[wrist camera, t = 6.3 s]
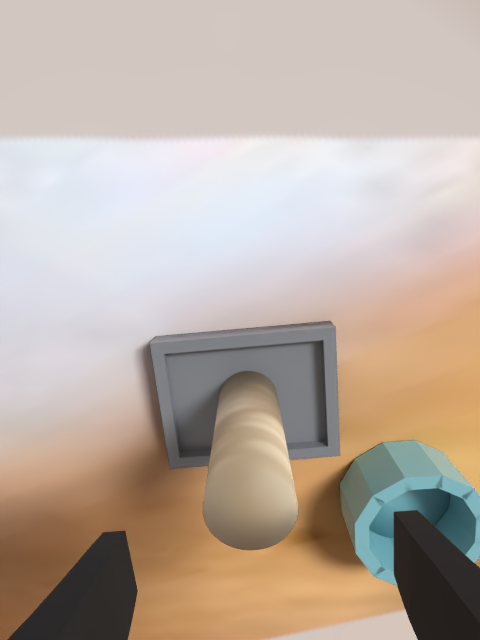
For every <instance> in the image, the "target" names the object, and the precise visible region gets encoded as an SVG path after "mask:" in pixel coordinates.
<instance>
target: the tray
mask: <svg viewBox="0 0 480 640" xmlns="http://www.w3.org/2000/svg"><path fill="white" fill-rule="evenodd" d="M150 349H151V355H152V361H153V367H154V373H155V380H156V386H157V392H158V398H159V404H160V411H161V417H162V423H163V429H164V435H165V442H166V448H167V454H168V460H169V466H170V469H174V468H187V467H200V466H209V462H210V455H211V448H212V442H213V435H214V428H215V422H216V415H217V408H218V402H219V395H220V390H221V387H222V385H223V384H224V382H225V381H226V380H227V379H228V378H229V377H230V376H232V375H234V374H236V373H238V372H242V371H255V372H258V373H261V374H263V375H265V376H266V377H267V378H269V379H270V380H271V382H272V383H273V384H274V386H275V389H276V392H277V397H278V403H279V408H280V413H281V418H282V424H283V429H284V434H285V440H286V445H287V450H288V455H289V460H293V459H306V458H319V457H332V456H340V437H339V409H338V380H337V352H336V327H335V326H334V325H333V324H332V322H331V321H324V322H313V323H301V324H290V325H279V326H267V327H256V328H245V329H234V330H222V331H211V332H200V333H188V334H177V335H166V336H155V338H154V339H153V340H152V341H151V342H150Z"/></svg>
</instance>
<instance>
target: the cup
mask: <svg viewBox="0 0 480 640" xmlns="http://www.w3.org/2000/svg"><path fill="white" fill-rule="evenodd" d="M340 499H341V511H342V514H343V517H344V520H345V523H346V526H347V529H348V532H349V535H350V538H351V541H352V544H353V547H354V550H355V553H356V554H357V556H358V557H359V558H360V560H361V561H362V562H363V563H364V565H365V566H366V567H367V569H368V570H369V571H370V572H371V574H372V575H373V576H374V577H376V578H379V579H381V580H384V581H386V582H389V583H392V584H394V585H397V583H396V580H395V577H394V512H396V511H410V510H418V511H419V512H420V513H421V514H422V515H423V516H424V517H425V518H427V519H428V520H429V521H430V522H431V523H432V524H433V525H434V526H435V527H436V528H437V529H438V530H439V531H440V532H441V533H442V534H443V535H444V536H446V537H447V538H448V539H449V540H450V541H451V542H452V543H453V544H454V545H455V546H456V547H457V548H458V549H459V550H461V551H462V552H463V553H464V554H465V555H466V556H467V557H468V558H469V559H470V560H471V561H473V562H474V563H475V562H476V561H477V560H478V558H479V557H480V496H479V495H478V493H477V492H476V490H475V489H474V488H473V486H472V485H471V484H470V483H469V482H468V481H467V479H466V478H465V477H464V476H463V475H462V474H461V473H460V471H459V470H458V469H457V468H456V467H455V466H454V465H453V463H452V462H451V461H450V460H449V459H448V458H447V457H446V455H445V454H444V453H443V452H441V451H439V450H437V449H434V448H432V447H430V446H427V445H425V444H423V443H421V442H418V441H416V440H409V441H396V442H383V443H381V444H379V445H378V446H376V447H374V448H372V449H371V450H369V451H367V452H366V453H364V454H362V455H360V456H359V457H357V458H355V459H354V461H353V463H352V464H351V466H350V468H349V469H348V471H347V473H346V474H345V476H344V478H343V479H342V481H341V483H340Z"/></svg>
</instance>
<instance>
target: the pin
mask: <svg viewBox="0 0 480 640" xmlns="http://www.w3.org/2000/svg"><path fill="white" fill-rule="evenodd" d="M203 517H204V521H205V523H206V525H207V527H208V529H209V530H210V532H211V533H212V534H213V535H214V536H215V537H216V538H217V539H218V540H220V541H221V542H223V543H224V544H226V545H228V546H231V547H234V548H237V549H242V550H259V549H264V548H268V547H270V546H273V545H275V544H277V543H279V542H280V541H282V540H283V539H284V538H285V537H286V536H287V535H288V534H289V533H290V532H291V531H292V529H293V527H294V525H295V523H296V521H297V517H298V503H297V498H296V493H295V487H294V482H293V477H292V471H291V466H290V461H289V455H288V450H287V445H286V440H285V434H284V429H283V424H282V418H281V413H280V408H279V403H278V397H277V392H276V389H275V386H274V384H273V383H272V382H271V380H270V379H269V378H267V377H266V376H265V375H263V374H261V373H258V372H255V371H242V372H238V373H236V374H234V375H232V376H230V377H229V378H228V379H227V380H226V381H225V382H224V384H223V385H222V387H221V390H220V395H219V402H218V408H217V415H216V422H215V428H214V435H213V442H212V448H211V455H210V462H209V468H208V475H207V482H206V488H205V495H204V501H203Z"/></svg>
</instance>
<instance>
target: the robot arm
mask: <svg viewBox="0 0 480 640" xmlns="http://www.w3.org/2000/svg"><path fill="white" fill-rule="evenodd" d="M394 577H395V580H396V583H397V586H398V589H399V592H400V595H401V598H402V601H403V604H404V606H405V609H406V612H407V615H408V618H409V620H410V623H411V625H412V627H413V630H414V632H415V634H416V636H417V638H418V640H480V568H479V567H478V566H477V565H476V564H475V563H474V562H473V561H471V560H470V559H469V558H468V557H467V556H466V555H465V554H464V553H463V552H462V551H461V550H459V549H458V548H457V547H456V546H455V545H454V544H453V543H452V542H451V541H450V540H449V539H448V538H447V537H446V536H444V535H443V534H442V533H441V532H440V531H439V530H438V529H437V528H436V527H435V526H434V525H433V524H432V523H431V522H430V521H429V520H428V519H427V518H425V517H424V516H423V515H422V514H421V513H420V512H419V511H418V510H410V511H396V512H394ZM136 597H137V586H136V581H135V576H134V571H133V567H132V562H131V557H130V552H129V547H128V542H127V538H126V533H125V531H117V532H103V533H102V534H101V536H100V537H99V538H98V539H97V540H96V541H95V542H94V543H93V545H92V546H91V547H90V548H89V549H88V550H87V552H86V553H85V554H84V555H83V556H82V557H81V559H80V560H79V561H78V562H77V563H76V564H75V566H74V567H73V568H72V569H71V570H70V571H69V573H68V574H67V575H66V576H65V577H64V578H63V579H62V581H61V582H60V583H59V584H58V585H57V586H56V587H55V589H54V590H53V591H52V592H51V593H50V594H49V595H48V596H47V598H46V599H45V600H44V601H43V602H42V603H41V604H40V605H39V607H38V608H37V609H36V610H35V611H34V612H33V613H32V614H31V615H30V616H29V618H28V619H27V620H26V621H25V622H24V623H23V624H22V625H21V626H20V627H19V628H18V629H17V630H16V631H15V632H14V633H13V634H12V635H11V637H10V638H9V639H8V640H128V636H129V631H130V627H131V622H132V617H133V612H134V607H135V602H136Z"/></svg>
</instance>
